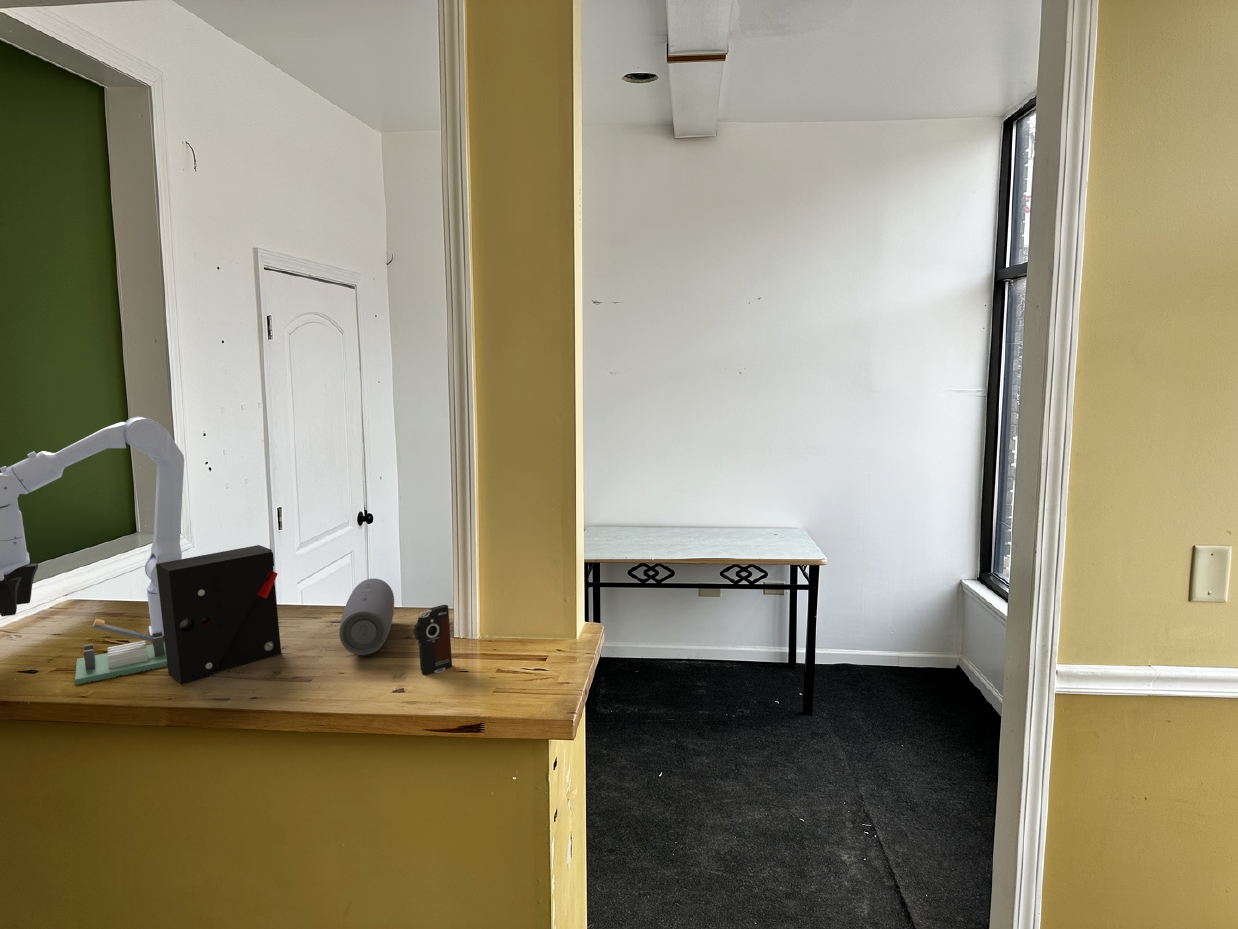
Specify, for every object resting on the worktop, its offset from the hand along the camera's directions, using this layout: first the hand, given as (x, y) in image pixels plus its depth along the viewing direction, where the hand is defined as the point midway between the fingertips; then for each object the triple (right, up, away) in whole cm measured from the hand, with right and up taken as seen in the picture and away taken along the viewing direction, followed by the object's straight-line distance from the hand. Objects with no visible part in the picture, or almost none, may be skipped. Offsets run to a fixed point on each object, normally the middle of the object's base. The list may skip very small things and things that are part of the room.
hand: (16, 609), depth 151 cm
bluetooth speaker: (+65, -7, +6) cm, 65 cm away
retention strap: (+23, -4, -3) cm, 23 cm away
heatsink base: (+23, -10, -3) cm, 25 cm away
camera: (+81, -9, -11) cm, 82 cm away
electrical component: (+41, -9, -4) cm, 42 cm away
